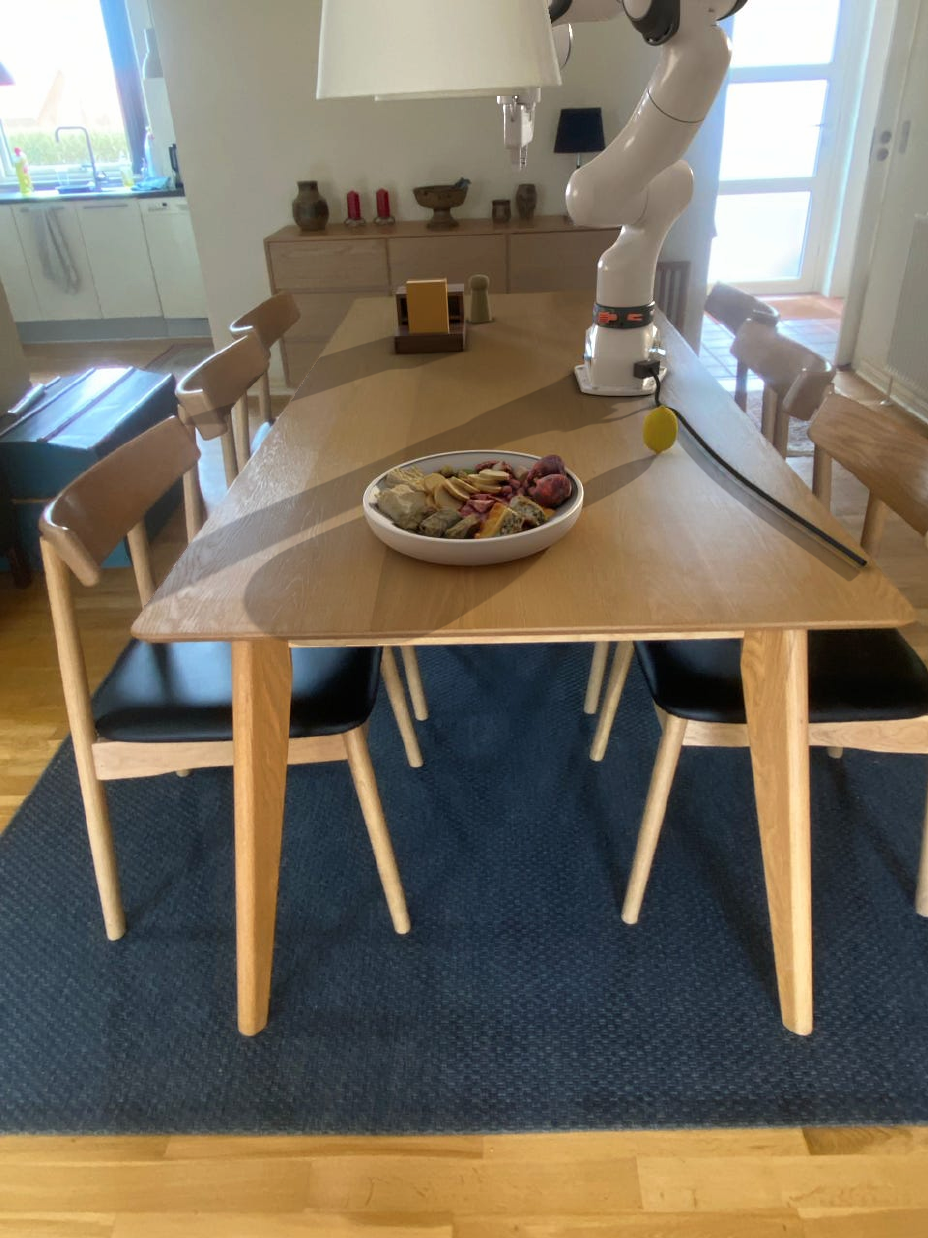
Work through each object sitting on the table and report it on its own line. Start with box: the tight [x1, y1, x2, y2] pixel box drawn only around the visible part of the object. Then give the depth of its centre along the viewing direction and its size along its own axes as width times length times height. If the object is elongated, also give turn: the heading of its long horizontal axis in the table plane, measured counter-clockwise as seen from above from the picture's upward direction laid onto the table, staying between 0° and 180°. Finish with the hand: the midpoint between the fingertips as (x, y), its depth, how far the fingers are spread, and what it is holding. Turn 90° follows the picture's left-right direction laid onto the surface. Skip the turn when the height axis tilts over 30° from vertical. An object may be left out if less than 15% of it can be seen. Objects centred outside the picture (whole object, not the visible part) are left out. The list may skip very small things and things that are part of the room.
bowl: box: [362, 449, 584, 566], centre depth 113 cm, size 30×30×8 cm
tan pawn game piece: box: [468, 274, 493, 324], centre depth 212 cm, size 6×6×11 cm
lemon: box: [642, 404, 679, 455], centre depth 131 cm, size 6×6×8 cm
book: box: [405, 277, 449, 333], centre depth 189 cm, size 4×9×11 cm, turn 88°
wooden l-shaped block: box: [393, 283, 467, 355], centre depth 196 cm, size 20×16×11 cm
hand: (518, 169), depth 175 cm, fingers open, 8 cm apart
